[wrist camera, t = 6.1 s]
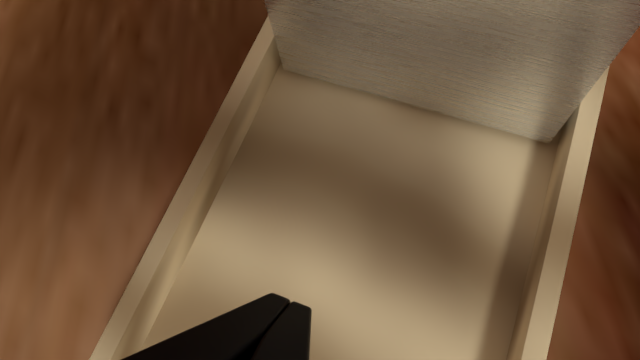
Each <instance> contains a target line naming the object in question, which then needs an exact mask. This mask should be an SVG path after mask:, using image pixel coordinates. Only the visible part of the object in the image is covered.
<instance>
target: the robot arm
mask: <svg viewBox="0 0 640 360" xmlns="http://www.w3.org/2000/svg"><path fill="white" fill-rule="evenodd" d="M311 317H312V310H311V308H310V307H308V306H306V305H303V304H301V303H298V302H295V301H293V302H290V300H289V299H288V298H285V297H283V296H280V295H278V294H275V293H269V294H267V295H264V296H262V297H260V298H258V299H255V300H253V301H251V302H249V303H246V304H244V305H242V306H240V307H237V308H235V309H233V310H231V311H229V312H226V313H224V314H222V315H220V316H217V317H215V318H213V319H211V320H208V321H206V322H204V323H202V324H199V325H197V326H195V327H193V328H190V329H188V330H186V331H184V332H181V333H179V334H177V335H175V336H172V337H170V338H168V339H166V340H164V341H161V342H159V343H157V344H155V345H152V346H150V347H148V348H146V349H143V350H141V351H139V352H137V353H134V354H132V355H130V356H128V357H125V358H123V359H121V360H309V358H310V337H311Z"/></svg>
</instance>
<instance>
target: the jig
mask: <svg viewBox="0 0 640 360" xmlns="http://www.w3.org/2000/svg"><path fill="white" fill-rule="evenodd" d="M608 70H609V66H608V68H607V69H606V70H605V71H604V73H603V74H602V75H601V77H600V78H599V79H598V81H597V82H596V83H595V84H594V86H593V87H592V88H591V90H590V91H589V92H588V93H587V95H586V96H585V97H584V99H583V100H582V101H581V103H580V104H579V105H578V106H577V108H576V109H575V110H574V112H573V113H572V114H571V116H570V117H569V118H568V119H567V121H566V122H565V123H564V125H563V126H562V127H561V128H560V130H559V131H558V132H557V134H556V135H555V136H554V138H553V139H552V140H551V141H550V143H546V142H542V141H538V140H535V139H531V138H528V137H524V136H521V135H517V134H513V133H510V132H506V131H503V130H499V129H496V128H492V127H488V126H485V125H481V124H478V123H474V122H470V121H467V120H463V119H460V118H456V117H453V116H449V115H445V114H442V113H438V112H435V111H431V110H428V109H424V108H420V107H417V106H413V105H410V104H406V103H403V102H399V101H395V100H392V99H388V98H385V97H381V96H378V95H374V94H370V93H367V92H363V91H360V90H356V89H352V88H349V87H345V86H342V85H338V84H335V83H331V82H327V81H324V80H320V79H317V78H313V77H310V76H306V75H302V74H299V73H295V72H292V71H288V70H285V69H283V66H282V62H281V59H280V55H279V52H278V48H277V44H276V41H275V37H274V34H273V30H272V27H271V23H270V20H269V16H268V17H267V19H266V20H265V22H264V24H263V26H262V28H261V30H260V32H259V34H258V36H257V38H256V40H255V42H254V44H253V45H252V47H251V49H250V51H249V53H248V55H247V57H246V59H245V61H244V63H243V65H242V67H241V69H240V71H239V72H238V74H237V76H236V78H235V80H234V82H233V84H232V86H231V88H230V90H229V92H228V94H227V96H226V97H225V99H224V101H223V103H222V105H221V107H220V109H219V111H218V113H217V115H216V117H215V119H214V121H213V122H212V124H211V126H210V128H209V130H208V132H207V134H206V136H205V138H204V140H203V142H202V144H201V146H200V147H199V149H198V151H197V153H196V155H195V157H194V159H193V161H192V163H191V165H190V167H189V169H188V171H187V173H186V174H185V176H184V178H183V180H182V182H181V184H180V186H179V188H178V190H177V192H176V194H175V196H174V198H173V199H172V201H171V203H170V205H169V207H168V209H167V211H166V213H165V215H164V217H163V219H162V221H161V223H160V224H159V226H158V228H157V230H156V232H155V234H154V236H153V238H152V240H151V242H150V244H149V246H148V248H147V249H146V251H145V253H144V255H143V257H142V259H141V261H140V263H139V265H138V267H137V269H136V271H135V273H134V275H133V276H132V278H131V280H130V282H129V284H128V286H127V288H126V290H125V292H124V294H123V296H122V298H121V300H120V301H119V303H118V305H117V307H116V309H115V311H114V313H113V315H112V317H111V319H110V321H109V323H108V325H107V326H106V328H105V330H104V332H103V334H102V336H101V338H100V340H99V342H98V344H97V346H96V348H95V350H94V351H93V353H92V355H91V357H90V359H89V360H121V359H123V358H125V357H128V356H130V355H132V354H134V353H137V352H139V351H141V350H143V349H146V348H148V347H150V346H152V345H155V344H157V343H159V342H161V341H164V340H166V339H168V338H170V337H172V336H175V335H177V334H179V333H181V332H184V331H186V330H188V329H190V328H193V327H195V326H197V325H199V324H202V323H204V322H206V321H208V320H211V319H213V318H215V317H217V316H220V315H222V314H224V313H226V312H229V311H231V310H233V309H235V308H237V307H240V306H242V305H244V304H246V303H249V302H251V301H253V300H255V299H258V298H260V297H262V296H264V295H267V294H269V293H275V294H278V295H280V296H283V297H285V298H288V299H289V300H290V302H293V301H295V302H298V303H301V304H303V305H306V306H308V307H310V308H311V310H312V317H311V337H310V358H309V360H546V358H547V353H548V349H549V344H550V340H551V335H552V330H553V326H554V321H555V316H556V312H557V307H558V302H559V298H560V293H561V288H562V284H563V279H564V275H565V270H566V265H567V261H568V256H569V251H570V247H571V242H572V237H573V233H574V228H575V223H576V219H577V214H578V209H579V205H580V200H581V196H582V191H583V186H584V182H585V177H586V172H587V168H588V163H589V158H590V154H591V149H592V144H593V140H594V135H595V130H596V126H597V121H598V117H599V112H600V107H601V103H602V98H603V93H604V89H605V84H606V79H607V75H608Z"/></svg>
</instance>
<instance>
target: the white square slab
mask: <svg viewBox="0 0 640 360" xmlns="http://www.w3.org/2000/svg"><path fill="white" fill-rule="evenodd" d="M264 2H265V5H266V9H267V12H268V16H269V20H270V23H271V27H272V30H273V34H274V37H275V41H276V44H277V48H278V52H279V55H280V59H281V62H282V66H283V69H285V70H288V71H292V72H295V73H299V74H302V75H306V76H310V77H313V78H317V79H320V80H324V81H327V82H331V83H335V84H338V85H342V86H345V87H349V88H352V89H356V90H360V91H363V92H367V93H370V94H374V95H378V96H381V97H385V98H388V99H392V100H395V101H399V102H403V103H406V104H410V105H413V106H417V107H420V108H424V109H428V110H431V111H435V112H438V113H442V114H445V115H449V116H453V117H456V118H460V119H463V120H467V121H470V122H474V123H478V124H481V125H485V126H488V127H492V128H496V129H499V130H503V131H506V132H510V133H513V134H517V135H521V136H524V137H528V138H531V139H535V140H538V141H542V142H546V143H550V141H551V140H552V139H553V138H554V136H555V135H556V134H557V132H558V131H559V130H560V128H561V127H562V126H563V125H564V123H565V122H566V121H567V119H568V118H569V117H570V116H571V114H572V113H573V112H574V110H575V109H576V108H577V106H578V105H579V104H580V103H581V101H582V100H583V99H584V97H585V96H586V95H587V93H588V92H589V91H590V90H591V88H592V87H593V86H594V84H595V83H596V82H597V81H598V79H599V78H600V77H601V75H602V74H603V73H604V71H605V70H606V69H607V68H608V66H609V65H610V64H611V62H612V61H613V60H614V58H615V57H616V56H617V55H618V53H619V52H620V51H621V49H622V48H623V47H624V46H625V44H626V43H627V42H628V40H629V39H630V38H631V36H632V35H633V34H634V33H635V31H636V30H637V29H638V27H639V26H640V0H264Z"/></svg>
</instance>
